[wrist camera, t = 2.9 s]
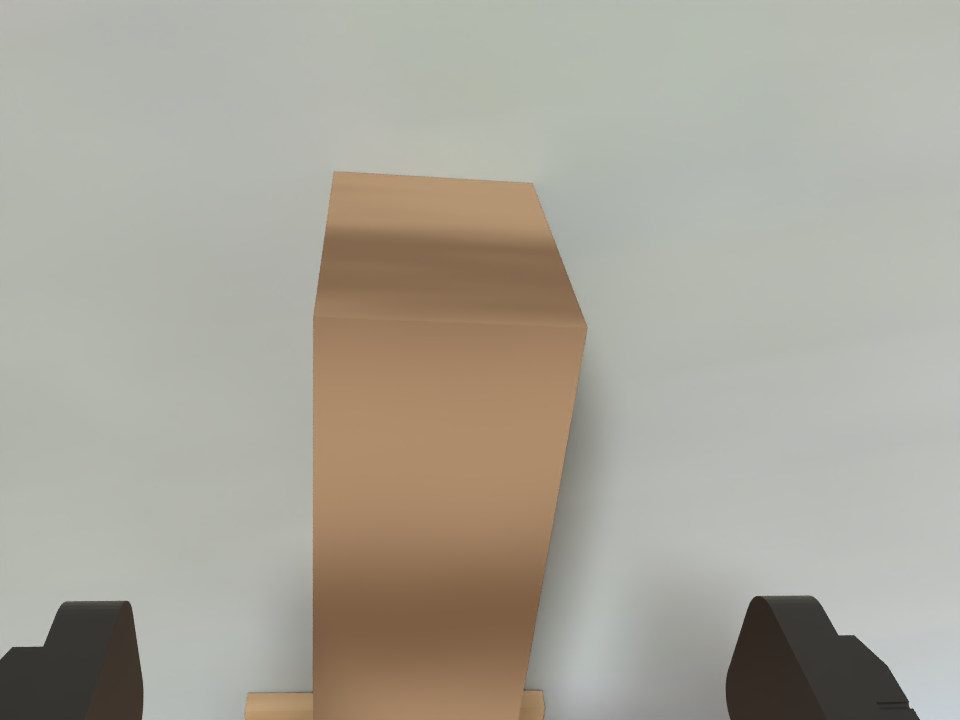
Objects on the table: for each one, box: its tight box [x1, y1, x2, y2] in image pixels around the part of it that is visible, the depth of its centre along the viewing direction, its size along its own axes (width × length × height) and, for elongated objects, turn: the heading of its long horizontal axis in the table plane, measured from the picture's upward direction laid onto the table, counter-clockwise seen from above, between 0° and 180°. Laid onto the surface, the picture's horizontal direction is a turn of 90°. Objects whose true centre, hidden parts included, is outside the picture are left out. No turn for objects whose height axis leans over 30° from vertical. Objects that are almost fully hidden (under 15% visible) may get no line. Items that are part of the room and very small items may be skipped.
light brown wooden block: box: [313, 172, 587, 720], centre depth 19 cm, size 13×4×7 cm, turn 175°
